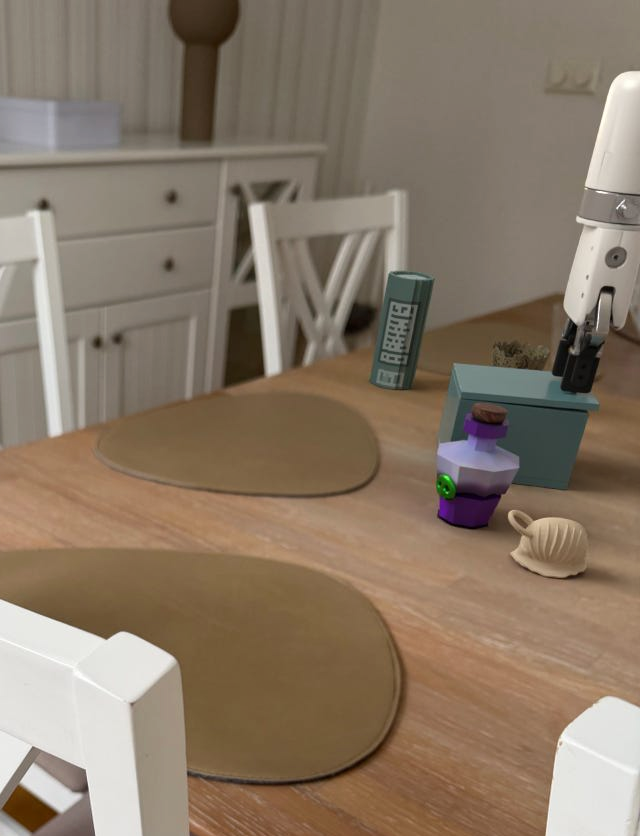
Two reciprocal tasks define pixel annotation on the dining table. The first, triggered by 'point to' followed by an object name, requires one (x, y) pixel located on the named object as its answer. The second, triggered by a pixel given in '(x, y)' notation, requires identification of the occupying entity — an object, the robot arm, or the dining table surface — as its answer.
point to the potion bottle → (475, 469)
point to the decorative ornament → (550, 545)
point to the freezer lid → (519, 386)
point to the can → (401, 329)
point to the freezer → (525, 437)
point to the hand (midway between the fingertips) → (570, 382)
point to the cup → (519, 356)
